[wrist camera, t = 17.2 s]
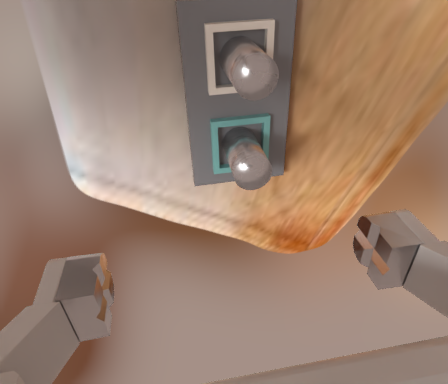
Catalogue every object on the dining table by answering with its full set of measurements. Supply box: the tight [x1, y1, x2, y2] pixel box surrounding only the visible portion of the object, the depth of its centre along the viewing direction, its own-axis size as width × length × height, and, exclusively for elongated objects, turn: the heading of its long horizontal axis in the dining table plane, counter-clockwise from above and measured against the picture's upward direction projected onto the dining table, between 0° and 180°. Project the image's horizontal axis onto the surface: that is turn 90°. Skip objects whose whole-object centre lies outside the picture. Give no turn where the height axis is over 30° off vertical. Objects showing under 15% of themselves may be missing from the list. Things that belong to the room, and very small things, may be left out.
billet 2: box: [222, 127, 272, 190], centre depth 43 cm, size 4×4×8 cm
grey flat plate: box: [176, 0, 297, 186], centre depth 43 cm, size 13×23×2 cm, turn 2°
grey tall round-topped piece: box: [220, 36, 279, 101], centre depth 36 cm, size 4×4×8 cm
